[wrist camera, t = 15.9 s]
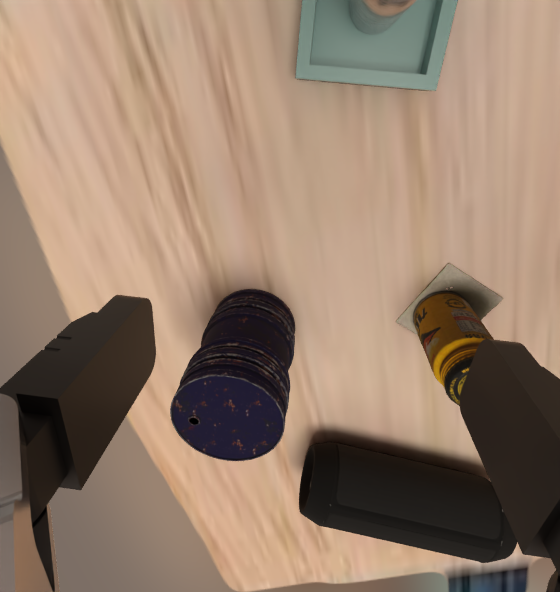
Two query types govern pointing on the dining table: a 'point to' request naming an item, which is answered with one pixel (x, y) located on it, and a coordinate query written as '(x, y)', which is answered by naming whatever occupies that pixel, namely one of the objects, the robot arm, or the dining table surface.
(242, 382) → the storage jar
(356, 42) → the tray
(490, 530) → the portable speaker
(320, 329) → the dining table surface
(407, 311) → the condiment
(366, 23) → the pin
